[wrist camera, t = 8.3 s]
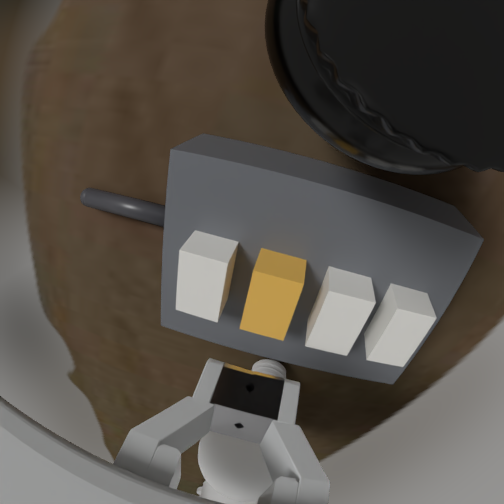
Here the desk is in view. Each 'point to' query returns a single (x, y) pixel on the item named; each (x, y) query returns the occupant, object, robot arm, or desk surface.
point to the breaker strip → (301, 257)
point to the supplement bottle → (396, 78)
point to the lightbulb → (237, 456)
